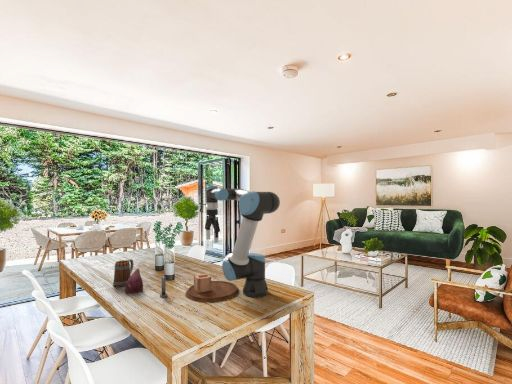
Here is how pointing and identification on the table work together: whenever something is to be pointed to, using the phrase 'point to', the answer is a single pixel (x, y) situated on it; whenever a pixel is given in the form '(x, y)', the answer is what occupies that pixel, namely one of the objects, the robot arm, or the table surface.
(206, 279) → the c link
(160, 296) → the stand
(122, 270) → the mug
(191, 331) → the table surface
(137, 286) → the vegetable
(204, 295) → the cutting board
